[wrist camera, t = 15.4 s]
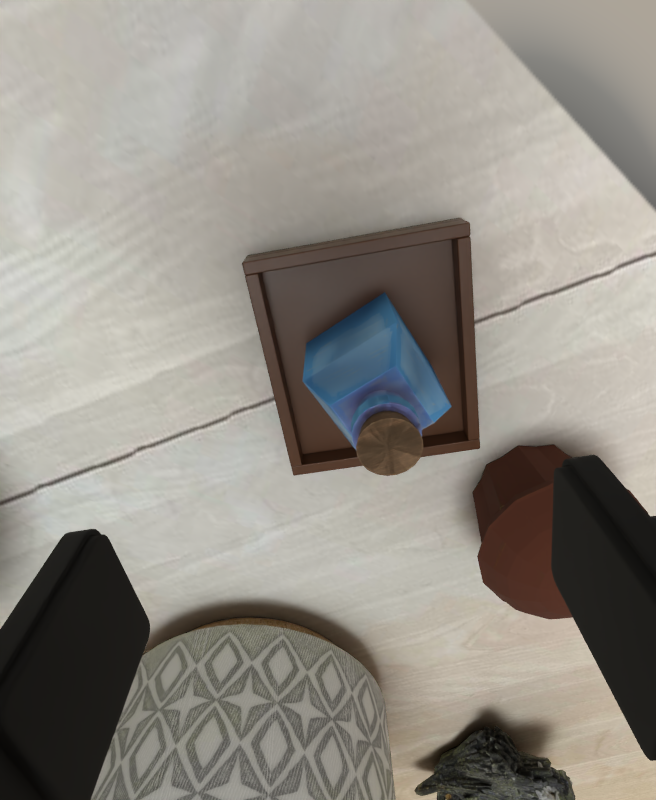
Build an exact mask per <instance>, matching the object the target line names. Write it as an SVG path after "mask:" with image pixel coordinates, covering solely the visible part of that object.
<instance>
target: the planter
mask: <svg viewBox="0 0 656 800" xmlns="http://www.w3.org/2000/svg"><path fill="white" fill-rule="evenodd" d="M91 800H396V799H395V790H394V781H393V771H392V762H391V753H390V744H389V734H388V725H387V716H386V707H385V701H384V698H383V695H382V692H381V689H380V687H379V686H378V684H377V682H376V681H375V679H374V677H373V676H372V675H371V674H370V672H369V671H368V670H367V669H366V668H365V667H364V666H363V665H362V664H361V663H360V662H359V661H357V660H356V659H355V658H354V657H352V656H351V655H350V654H349V653H347V652H345V651H344V650H342V649H340V648H338V647H337V646H336V645H334V644H333V643H332V642H331V641H329V640H328V639H327V638H325V637H323V636H321V635H320V634H318V633H316V632H314V631H312V630H310V629H307V628H305V627H302V626H300V625H296V624H293V623H289V622H285V621H281V620H274V619H268V618H250V617H249V618H234V619H227V620H222V621H216V622H213V623H210V624H207V625H203V626H200V627H198V628H196V629H194V630H192V631H190V632H188V633H185V634H182V635H179V636H176V637H174V638H172V639H170V640H167V641H165V642H163V643H161V644H159V645H157V646H156V647H155V648H153V649H152V650H150V651H149V652H147V653H146V654H144V655H143V656H142V658H141V660H140V663H139V666H138V669H137V672H136V674H135V677H134V680H133V683H132V686H131V688H130V691H129V694H128V697H127V699H126V702H125V705H124V708H123V711H122V713H121V716H120V719H119V722H118V725H117V727H116V730H115V733H114V736H113V739H112V741H111V744H110V747H109V750H108V752H107V755H106V758H105V761H104V764H103V766H102V769H101V772H100V775H99V778H98V780H97V783H96V786H95V789H94V792H93V794H92V797H91Z"/></svg>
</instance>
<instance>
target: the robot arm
mask: <svg viewBox="0 0 656 800" xmlns="http://www.w3.org/2000/svg"><path fill="white" fill-rule="evenodd" d="M551 569H552V574H553V578H554V581H555V583H556V586H557V588H558V590H559V591H560V593H561V595H562V597H563V599H564V601H565V603H566V605H567V607H568V609H569V611H570V613H571V615H572V616H573V618H574V620H575V622H576V624H577V626H578V628H579V630H580V632H581V634H582V636H583V638H584V640H585V641H586V643H587V645H588V647H589V649H590V651H591V653H592V655H593V657H594V659H595V661H596V663H597V664H598V666H599V668H600V670H601V672H602V674H603V676H604V678H605V680H606V682H607V684H608V686H609V688H610V689H611V691H612V693H613V695H614V697H615V699H616V701H617V703H618V705H619V707H620V709H621V711H622V713H623V714H624V716H625V718H626V720H627V722H628V724H629V726H630V728H631V730H632V732H633V734H634V736H635V738H636V739H637V741H638V743H639V745H640V747H641V749H642V751H643V752H644V754H645V755H646V757H647V758H648V759H649V760H651V761H653V760H656V516H651V517H650V516H649V515H648V513H647V512H646V511H645V510H644V509H643V508H642V506H641V505H640V504H639V503H638V502H637V501H636V500H635V498H634V497H633V496H632V495H631V494H630V493H629V491H628V490H627V489H626V488H625V487H624V486H623V485H622V483H621V482H620V481H619V480H618V479H617V478H616V476H615V475H614V474H613V473H612V472H611V471H610V470H609V468H608V467H607V466H606V465H605V464H604V463H603V461H602V460H601V459H600V458H599V457H598V456H596V455H589V456H582V457H576V458H569V459H565V460H564V461H563V463H562V467H559V468H555V470H554V483H553V519H552V556H551ZM149 633H150V624H149V620H148V617H147V615H146V613H145V611H144V609H143V607H142V605H141V603H140V601H139V599H138V597H137V595H136V593H135V591H134V589H133V587H132V585H131V583H130V581H129V579H128V577H127V575H126V573H125V571H124V569H123V567H122V565H121V563H120V561H119V559H118V557H117V555H116V553H115V551H114V549H113V547H112V545H111V542H110V540H109V539H108V537H107V536H106V535H101V534H100V532H99V531H97V530H96V529H89V530H83V531H76V532H69V533H67V534H65V535H64V536H63V537H62V538H61V540H60V541H59V543H58V544H57V546H56V547H55V548H54V550H53V551H52V553H51V554H50V556H49V557H48V559H47V560H46V562H45V563H44V565H43V566H42V568H41V569H40V571H39V572H38V574H37V575H36V577H35V578H34V580H33V581H32V583H31V584H30V586H29V587H28V589H27V590H26V592H25V593H24V595H23V596H22V598H21V599H20V601H19V602H18V604H17V605H16V607H15V608H14V610H13V611H12V613H11V614H10V616H9V617H8V619H7V620H6V622H5V623H4V625H3V626H2V628H1V629H0V800H91V797H92V794H93V792H94V789H95V786H96V783H97V780H98V778H99V775H100V772H101V769H102V766H103V764H104V761H105V758H106V755H107V752H108V750H109V747H110V744H111V741H112V739H113V736H114V733H115V730H116V727H117V725H118V722H119V719H120V716H121V713H122V711H123V708H124V705H125V702H126V699H127V697H128V694H129V691H130V688H131V686H132V683H133V680H134V677H135V674H136V672H137V669H138V666H139V663H140V660H141V658H142V655H143V652H144V649H145V646H146V644H147V641H148V638H149Z"/></svg>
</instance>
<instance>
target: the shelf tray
mask: <svg viewBox="0 0 656 800" xmlns="http://www.w3.org/2000/svg"><path fill="white" fill-rule="evenodd" d="M242 265H243V269H244V273H245V275H246V276H245V278H246V282H247V286H248V290H249V294H250V299H251V303H252V307H253V311H254V315H255V319H256V323H257V327H258V331H259V336H260V340H261V344H262V348H263V352H264V356H265V360H266V364H267V369H268V373H269V377H270V381H271V385H272V389H273V393H274V397H275V401H276V406H277V410H278V414H279V418H280V422H281V426H282V430H283V434H284V439H285V443H286V447H287V451H288V455H289V459H290V463H291V466H292V471H293V475H300V474H307V473H314V472H321V471H328V470H335V469H342V468H349V467H356V466H363V465H362V464H361V462H360V460H359V459H358V457H357V451H356V450H355V448H354V447H353V446H352V445H351V443H350V442H349V441H348V439H347V438H346V437H345V436H344V434H343V433H342V432H341V430H340V429H339V428H338V426H337V425H336V424H335V423H334V421H333V420H332V419H331V417H330V416H329V415H328V413H327V412H326V411H325V410H324V408H323V407H322V406H321V404H320V403H319V402H318V400H317V399H316V398H315V397H314V395H313V394H312V393H311V391H310V390H309V389H308V388H307V386H306V385H305V384H304V382H303V372H304V362H305V352H306V343H308V342H309V341H311V340H312V339H314V338H316V337H317V336H319V335H320V334H322V333H323V332H325V331H326V330H328V329H329V328H331V327H332V326H334V325H335V324H337V323H338V322H340V321H342V320H343V319H345V318H346V317H348V316H349V315H351V314H352V313H354V312H355V311H357V310H358V309H360V308H361V307H363V306H365V305H366V304H368V303H369V302H371V301H372V300H374V299H375V298H377V297H378V296H380V295H381V294H383V293H384V292H385V293H386V295H387V297H388V298H389V300H390V301H391V303H392V304H393V306H394V308H395V309H396V311H397V312H398V314H399V315H400V317H401V319H402V320H403V322H404V323H405V325H406V326H407V328H408V329H409V331H410V333H411V334H412V336H413V337H414V339H415V340H416V342H417V344H418V345H419V347H420V348H421V350H422V351H423V353H424V355H425V356H426V358H427V359H428V361H429V362H430V364H431V366H432V368H433V370H434V372H435V374H436V376H437V378H438V380H439V382H440V384H441V386H442V388H443V390H444V392H445V394H446V396H447V398H448V400H449V402H450V404H451V406H452V407H451V408H450V409H449V410H448V411H446V412H445V413H444V414H443V415H442V416H441V417H440V418H439V419H438V420H437V421H436V422H435V423H433V424H431V425H430V426H428V427H426V428H424V429H423V430H422V439H423V451H422V454H421V457H425V456H432V455H439V454H445V453H452V452H459V451H466V450H473V449H479V448H480V440H479V419H478V396H477V374H476V351H475V329H474V306H473V284H472V261H471V239H470V223H469V222H467V221H465V220H463V219H462V218H456V219H450V220H445V221H439V222H434V223H428V224H422V225H417V226H411V227H405V228H400V229H394V230H389V231H383V232H377V233H372V234H366V235H361V236H355V237H349V238H344V239H338V240H332V241H327V242H321V243H316V244H310V245H304V246H299V247H293V248H287V249H282V250H276V251H271V252H265V253H259V254H254V255H248V256H247V257H246V259H245V260H244V261H243V263H242Z"/></svg>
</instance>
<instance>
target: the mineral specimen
mask: <svg viewBox="0 0 656 800" xmlns="http://www.w3.org/2000/svg"><path fill="white" fill-rule="evenodd" d="M494 729H495V732H494V731H493V730H492V729H490V728H488V727H486V726H485V728H484V731H481V730H479V731H476V732H474V733H473V734H471V735H470V736H469V737H468V738H467V739H466V740H465V741H464V742H462V743H461V744H460V745H459V746H458V747H457V748H454V749H451V750H449V751H447V752H446V753H443V754H442V755H441V758H440V762H439V763H438V764H437V765H436V766H435V771H434V774H433V775H432V776H431V777H429V778H428V779H426V780H425V781H423V782H422V783H421V784H419V785H418V786H417V787H416V789H415V792H416V794H418V795H420V796H424V795H428V794H431V793H434V792H438V793H437V800H445V799H446V800H575V795H574V792H573V789H572V782H571V780H570V777H567V775H566V772H565V771H563V770H556V769H554V768H552V767H550V766H551V762H550V761H549V759H548V758H538V757H535V756H532V755H530V754H527V753H525V752H518V751H517V749H516V747H515V745H514V743H513V742H512V739H511V737H510V736H509V735H507V734H506V733H504V732H503V731H502V730H501V729H500V728H498V727H497V726H495V728H494Z"/></svg>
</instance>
